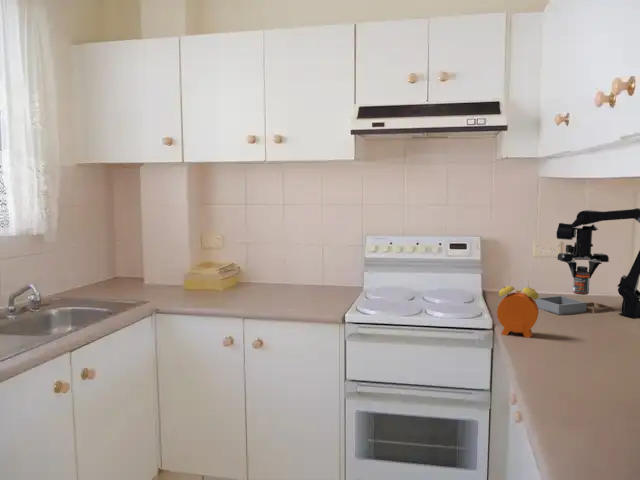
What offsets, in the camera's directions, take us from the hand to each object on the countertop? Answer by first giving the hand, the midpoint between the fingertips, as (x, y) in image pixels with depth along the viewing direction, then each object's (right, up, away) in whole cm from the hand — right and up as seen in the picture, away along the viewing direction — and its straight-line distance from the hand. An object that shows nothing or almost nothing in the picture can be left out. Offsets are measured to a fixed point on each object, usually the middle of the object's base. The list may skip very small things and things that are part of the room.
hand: (581, 278), depth 228 cm
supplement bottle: (0, -7, +1) cm, 7 cm away
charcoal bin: (-9, -13, +1) cm, 16 cm away
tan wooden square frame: (+6, -13, +2) cm, 14 cm away
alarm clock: (-39, -18, -34) cm, 54 cm away
